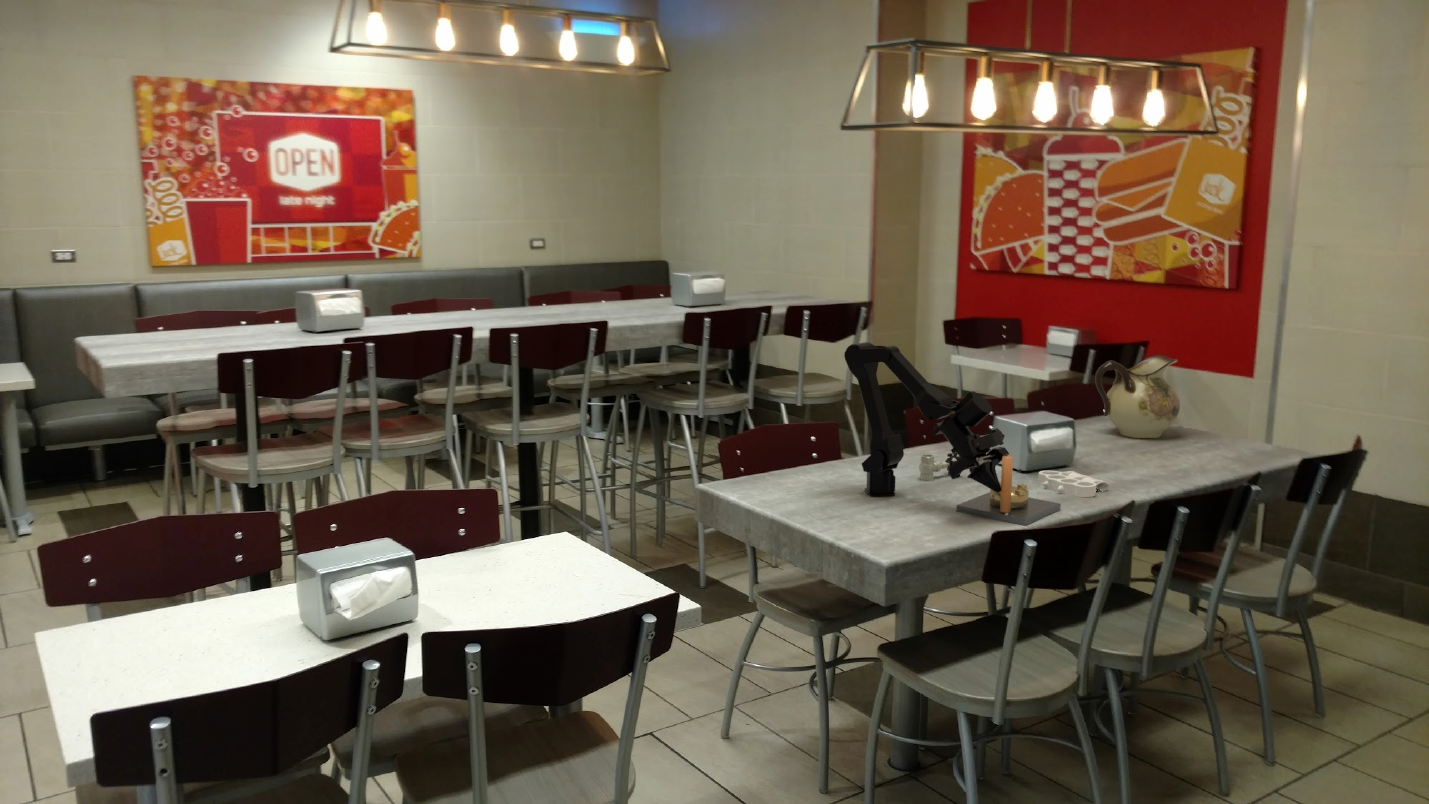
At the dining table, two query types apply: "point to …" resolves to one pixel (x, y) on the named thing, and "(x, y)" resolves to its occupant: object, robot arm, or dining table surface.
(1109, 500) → the dining table surface
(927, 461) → the valve
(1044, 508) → the steel plate
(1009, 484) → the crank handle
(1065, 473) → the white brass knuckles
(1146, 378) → the pitcher
